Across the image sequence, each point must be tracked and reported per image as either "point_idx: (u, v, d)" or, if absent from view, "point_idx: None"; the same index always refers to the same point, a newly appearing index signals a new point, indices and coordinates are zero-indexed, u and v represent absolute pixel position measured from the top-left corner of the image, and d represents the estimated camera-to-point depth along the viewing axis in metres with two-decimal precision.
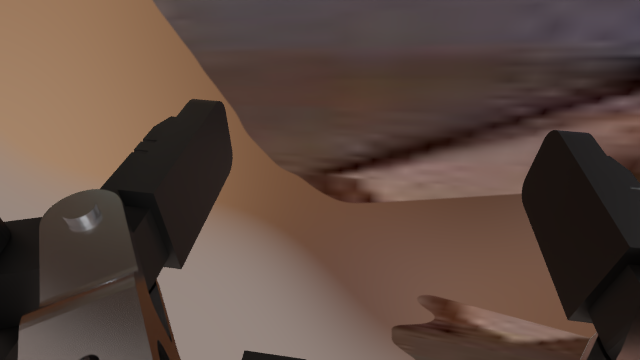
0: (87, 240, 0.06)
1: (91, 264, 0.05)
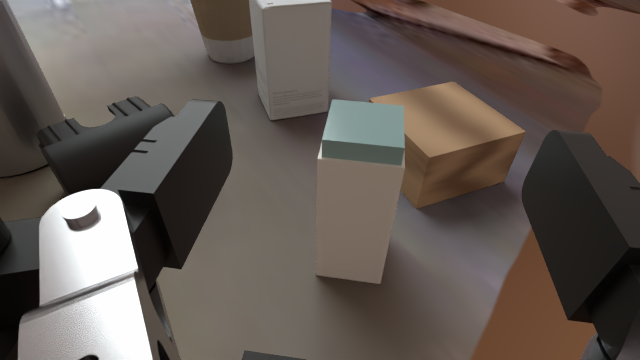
0: (87, 240, 0.06)
1: (91, 264, 0.05)
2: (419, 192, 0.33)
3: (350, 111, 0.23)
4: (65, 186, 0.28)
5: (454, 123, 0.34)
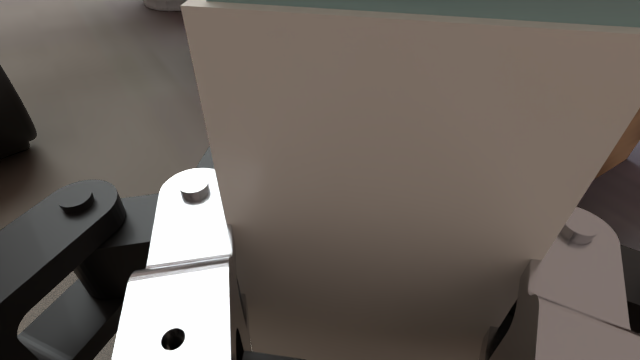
0: (194, 214, 0.06)
1: (218, 233, 0.06)
2: None
3: None
4: None
5: None
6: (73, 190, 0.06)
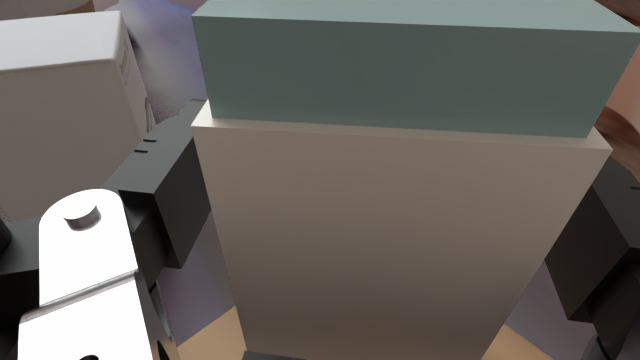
0: (87, 239, 0.06)
1: (91, 264, 0.05)
2: None
3: None
4: None
5: None
6: None
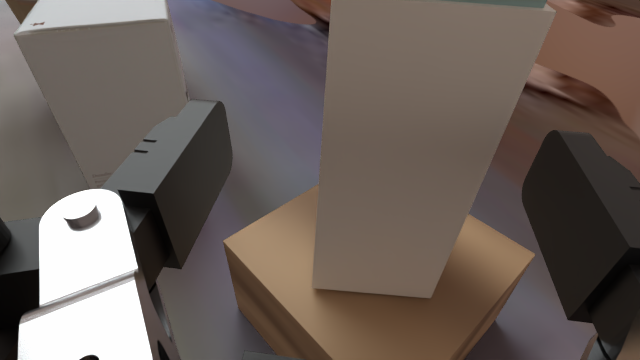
0: (87, 239, 0.06)
1: (91, 264, 0.05)
2: None
3: None
4: None
5: None
6: None
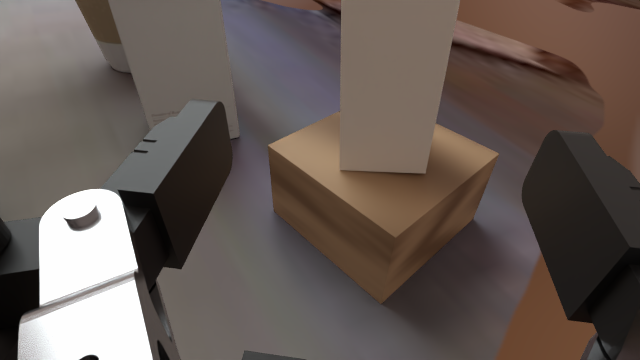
0: (86, 239, 0.06)
1: (91, 264, 0.05)
2: (383, 283, 0.20)
3: None
4: None
5: None
6: None
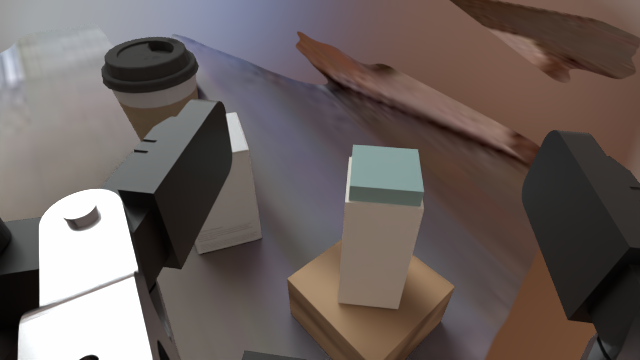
0: (87, 239, 0.06)
1: (91, 264, 0.05)
2: None
3: (371, 156, 0.25)
4: None
5: None
6: None
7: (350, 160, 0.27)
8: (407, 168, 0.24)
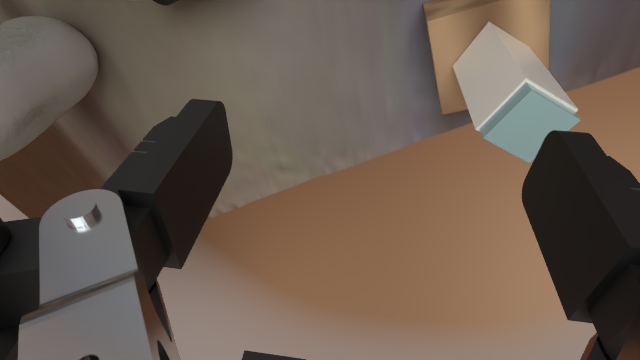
0: (86, 239, 0.06)
1: (91, 264, 0.05)
2: (438, 96, 0.43)
3: (530, 113, 0.26)
4: None
5: None
6: None
7: (522, 83, 0.26)
8: (544, 137, 0.27)
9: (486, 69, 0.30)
